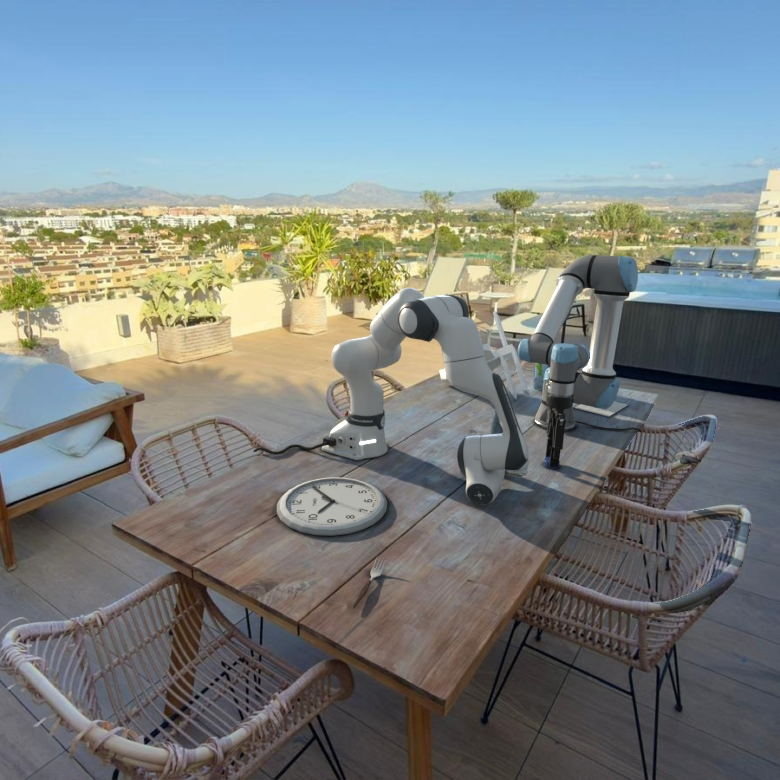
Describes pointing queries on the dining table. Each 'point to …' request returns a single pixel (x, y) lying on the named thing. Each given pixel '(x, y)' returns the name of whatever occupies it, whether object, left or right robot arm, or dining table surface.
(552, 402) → the right robot arm
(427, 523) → the dining table surface
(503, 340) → the white plastic object
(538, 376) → the lunch box
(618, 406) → the invitation card
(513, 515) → the dining table surface
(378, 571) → the fork
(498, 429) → the bottle
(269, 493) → the dining table surface
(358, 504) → the wall clock
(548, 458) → the cap
